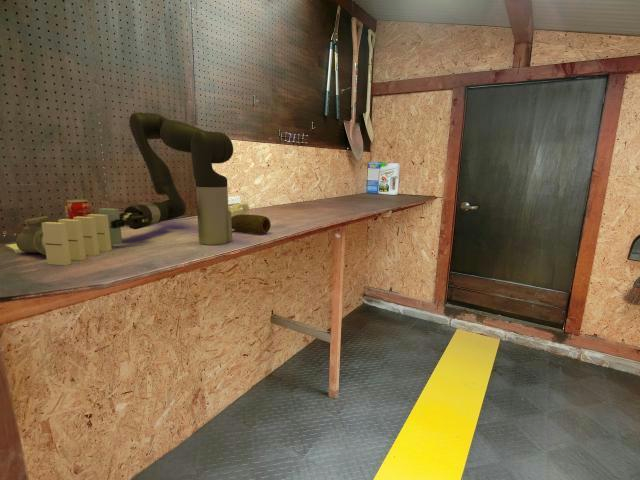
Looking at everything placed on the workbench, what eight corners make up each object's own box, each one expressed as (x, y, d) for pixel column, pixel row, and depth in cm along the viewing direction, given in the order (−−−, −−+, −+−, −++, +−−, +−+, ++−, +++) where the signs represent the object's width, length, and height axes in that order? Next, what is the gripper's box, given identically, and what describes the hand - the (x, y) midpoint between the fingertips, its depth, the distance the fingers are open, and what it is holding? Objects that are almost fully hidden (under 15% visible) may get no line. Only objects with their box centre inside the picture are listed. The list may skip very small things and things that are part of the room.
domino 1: (53, 262, 88) (47, 221, 85) (71, 263, 87) (65, 222, 85) (47, 264, 86) (41, 223, 84) (65, 265, 85) (59, 223, 83)
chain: (241, 215, 167) (240, 202, 166) (252, 216, 165) (252, 203, 164) (198, 225, 140) (197, 210, 139) (211, 227, 138) (210, 211, 136)
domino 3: (82, 253, 96) (78, 216, 94) (99, 254, 95) (95, 217, 93) (77, 254, 95) (73, 217, 93) (94, 255, 94) (90, 218, 92)
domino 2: (68, 257, 92) (63, 219, 90) (86, 258, 91) (81, 219, 89) (63, 259, 90) (57, 220, 88) (80, 260, 90) (75, 220, 87)
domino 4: (95, 249, 101) (91, 214, 98) (111, 250, 100) (107, 214, 98) (91, 250, 99) (86, 214, 97) (107, 251, 98) (103, 215, 96)
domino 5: (106, 242, 105) (103, 208, 103) (122, 243, 104) (118, 208, 102) (102, 243, 103) (98, 209, 101) (118, 244, 102) (114, 209, 100)
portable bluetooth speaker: (273, 233, 128) (273, 214, 127) (262, 236, 122) (262, 217, 121) (239, 229, 134) (238, 211, 133) (227, 232, 128) (226, 214, 127)
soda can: (66, 237, 114) (60, 200, 112) (91, 234, 119) (86, 198, 117) (72, 241, 110) (66, 202, 107) (98, 238, 115) (93, 200, 112)
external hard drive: (5, 250, 100) (57, 242, 110) (15, 255, 95) (68, 246, 105) (4, 244, 100) (57, 237, 110) (14, 249, 95) (67, 241, 105)
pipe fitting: (76, 250, 97) (65, 213, 94) (45, 260, 89) (32, 220, 87) (47, 251, 101) (36, 215, 99) (16, 260, 94) (2, 222, 91)
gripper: (121, 203, 116) (78, 210, 100) (161, 204, 114) (125, 212, 98) (123, 225, 118) (82, 236, 102) (163, 228, 116) (127, 238, 99)
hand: (103, 224), depth 100 cm, fingers closed on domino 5, 5 cm apart
